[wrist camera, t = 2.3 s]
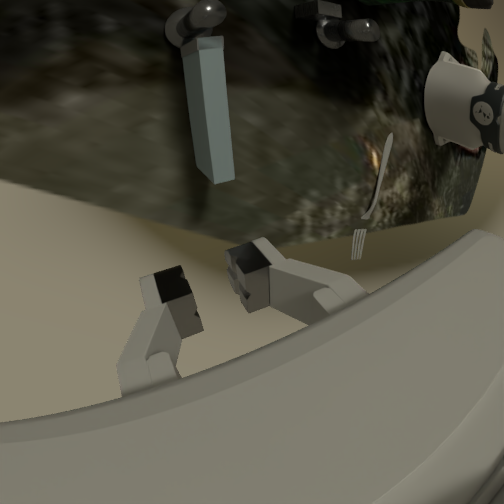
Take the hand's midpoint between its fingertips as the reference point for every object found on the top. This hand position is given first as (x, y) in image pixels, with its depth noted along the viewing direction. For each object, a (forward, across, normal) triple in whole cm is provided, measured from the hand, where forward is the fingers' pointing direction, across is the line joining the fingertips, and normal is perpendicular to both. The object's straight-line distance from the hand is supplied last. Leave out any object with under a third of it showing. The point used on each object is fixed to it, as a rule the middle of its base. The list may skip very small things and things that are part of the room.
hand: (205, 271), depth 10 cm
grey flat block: (+19, -5, -3) cm, 20 cm away
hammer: (+19, -20, -12) cm, 30 cm away
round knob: (+19, -5, -12) cm, 23 cm away
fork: (+20, -31, +12) cm, 39 cm away
